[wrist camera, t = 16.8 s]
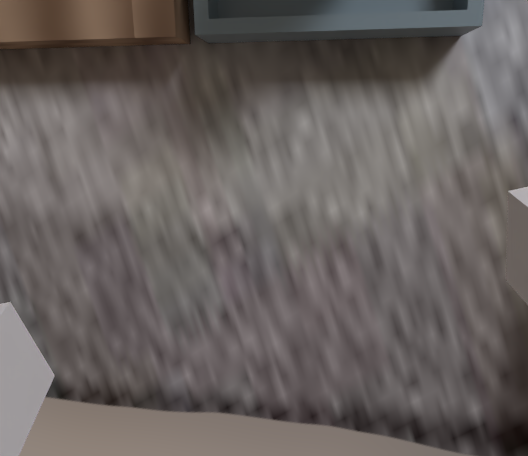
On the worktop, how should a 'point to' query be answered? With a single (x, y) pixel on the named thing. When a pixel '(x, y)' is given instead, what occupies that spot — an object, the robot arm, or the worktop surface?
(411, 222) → the worktop surface
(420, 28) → the tray
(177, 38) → the can holder
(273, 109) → the worktop surface
